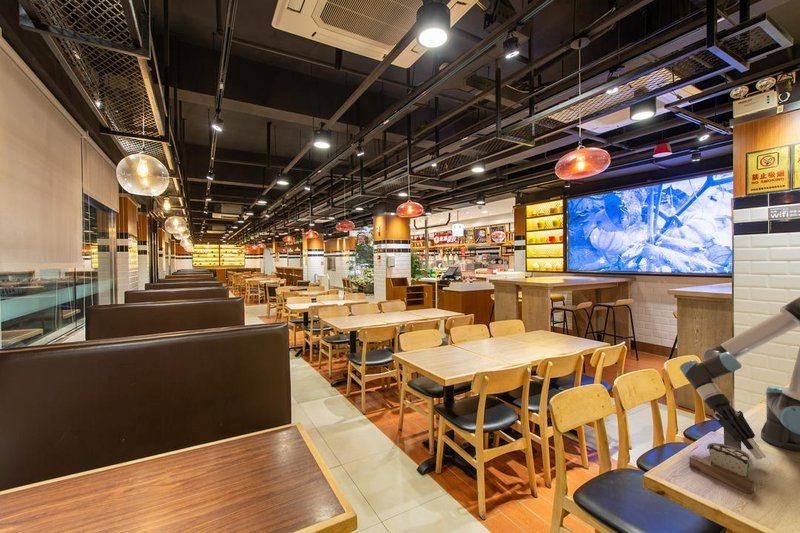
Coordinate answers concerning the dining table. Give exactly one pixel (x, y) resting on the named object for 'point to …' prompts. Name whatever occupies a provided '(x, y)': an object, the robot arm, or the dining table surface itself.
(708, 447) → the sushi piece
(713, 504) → the dining table surface
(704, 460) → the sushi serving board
